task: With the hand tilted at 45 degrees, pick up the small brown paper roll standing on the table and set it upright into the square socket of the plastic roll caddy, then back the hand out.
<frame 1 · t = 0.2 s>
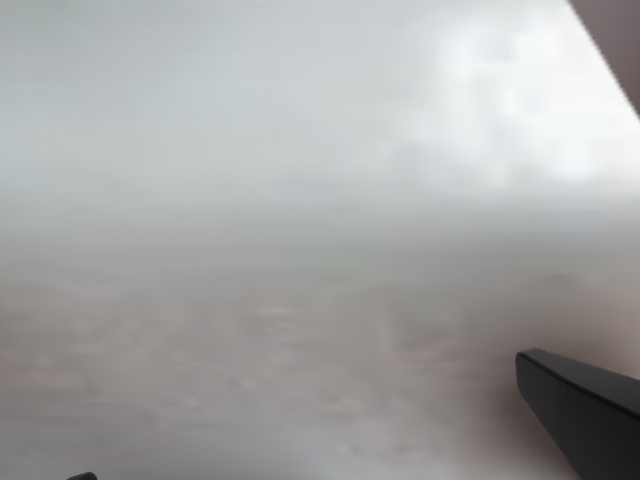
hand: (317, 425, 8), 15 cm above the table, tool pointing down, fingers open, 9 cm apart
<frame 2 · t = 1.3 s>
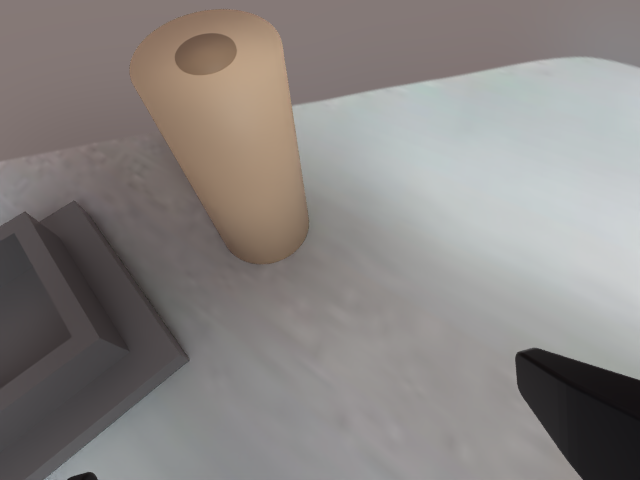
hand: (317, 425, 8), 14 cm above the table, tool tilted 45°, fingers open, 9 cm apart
roll caddy: (29, 351, 23), on the table
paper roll: (265, 224, 26), on the table
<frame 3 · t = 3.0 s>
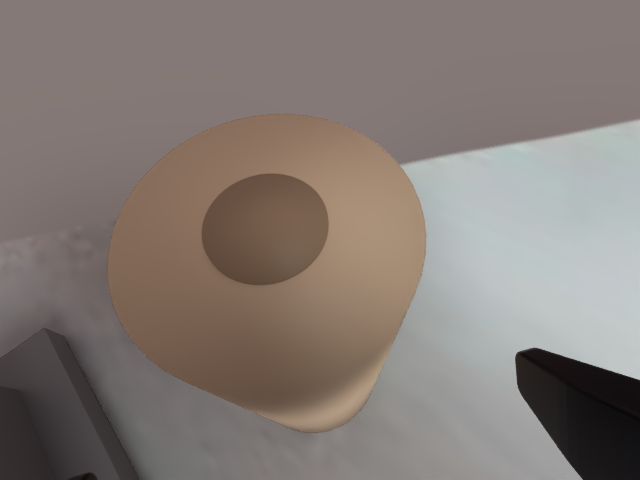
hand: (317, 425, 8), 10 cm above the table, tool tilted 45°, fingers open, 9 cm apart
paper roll: (313, 364, 19), on the table
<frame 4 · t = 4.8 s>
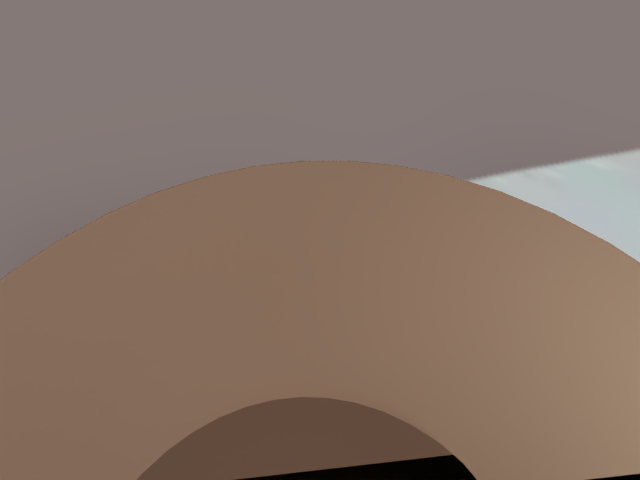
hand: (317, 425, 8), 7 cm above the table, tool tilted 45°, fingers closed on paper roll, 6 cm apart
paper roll: (338, 479, 13), on the table, touching gripper
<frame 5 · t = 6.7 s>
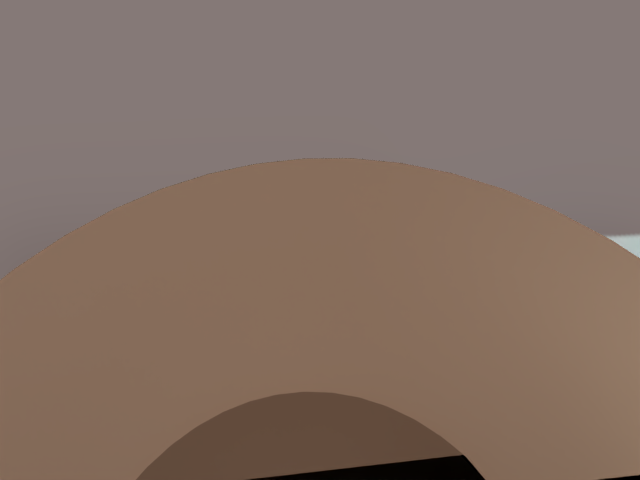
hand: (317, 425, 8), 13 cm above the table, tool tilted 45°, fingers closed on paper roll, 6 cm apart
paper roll: (339, 478, 13), point 7 cm above the table, touching gripper
when the fingers open (9 cm above the table, at t = 9.0 s): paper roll drops 1 cm, resting on roll caddy.
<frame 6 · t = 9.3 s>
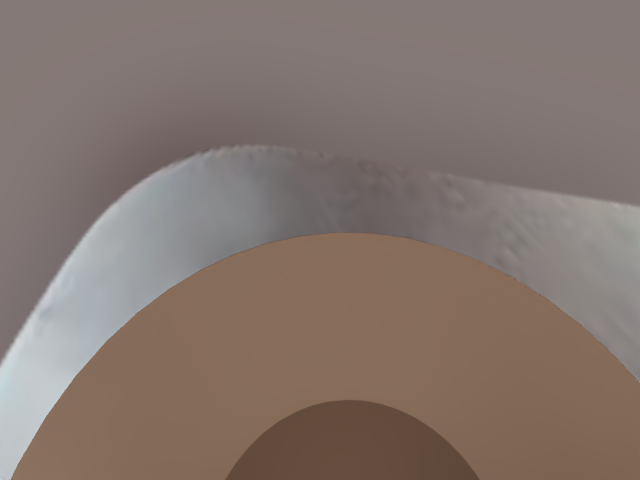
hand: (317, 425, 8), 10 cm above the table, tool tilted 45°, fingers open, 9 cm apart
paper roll: (338, 477, 14), point 2 cm above the table, touching roll caddy
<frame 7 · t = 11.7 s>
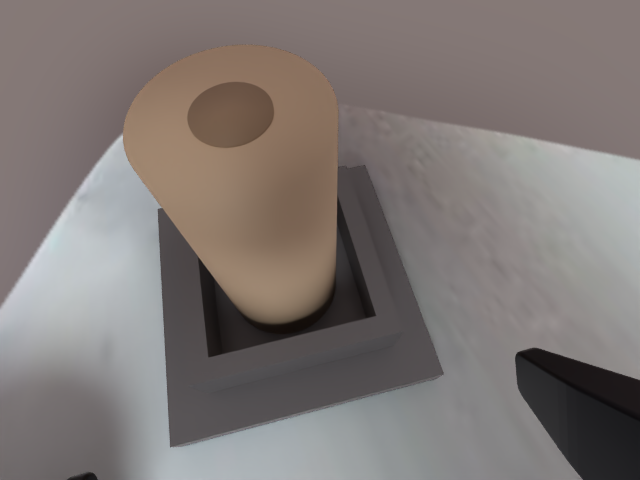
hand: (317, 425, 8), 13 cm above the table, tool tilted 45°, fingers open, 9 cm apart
roll caddy: (286, 291, 24), on the table
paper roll: (284, 282, 22), point 2 cm above the table, touching roll caddy
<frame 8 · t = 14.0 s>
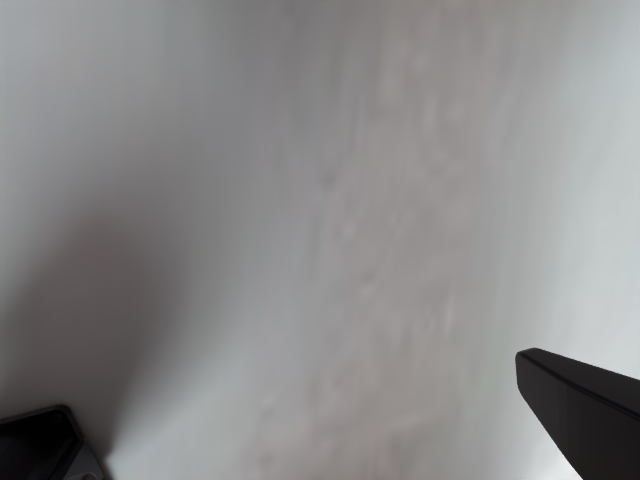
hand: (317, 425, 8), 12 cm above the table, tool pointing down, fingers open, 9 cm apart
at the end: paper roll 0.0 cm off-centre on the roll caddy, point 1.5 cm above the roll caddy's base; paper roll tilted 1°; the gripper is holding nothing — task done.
